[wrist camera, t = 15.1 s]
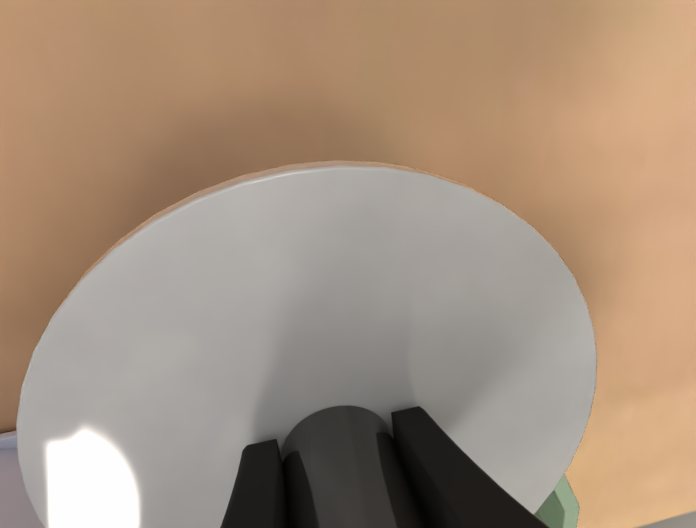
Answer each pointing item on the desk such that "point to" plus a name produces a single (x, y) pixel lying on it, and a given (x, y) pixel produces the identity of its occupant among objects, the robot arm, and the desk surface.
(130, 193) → the desk surface
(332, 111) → the desk surface
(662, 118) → the desk surface
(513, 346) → the lid
